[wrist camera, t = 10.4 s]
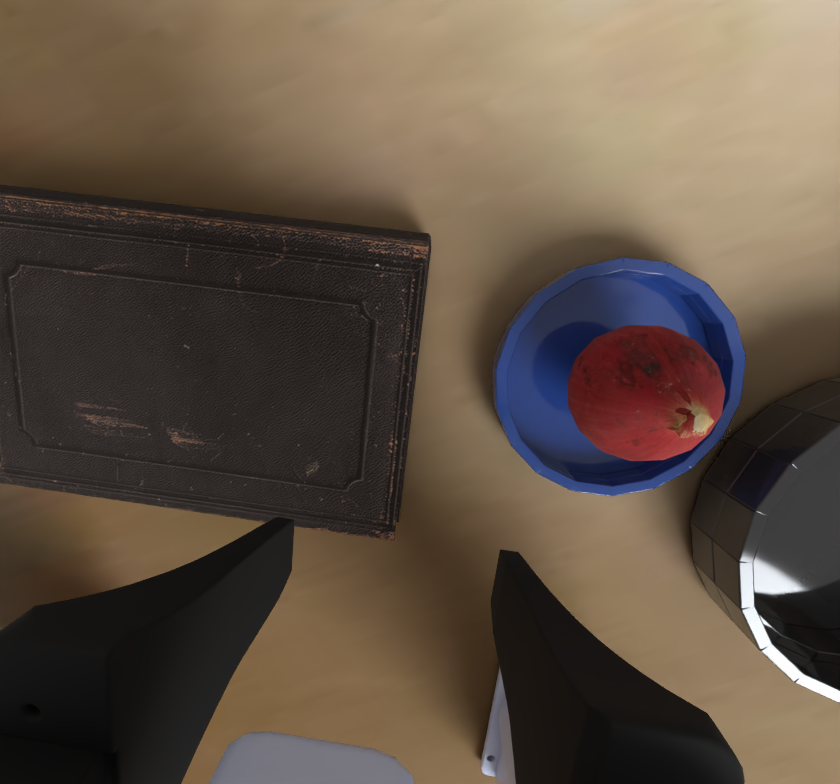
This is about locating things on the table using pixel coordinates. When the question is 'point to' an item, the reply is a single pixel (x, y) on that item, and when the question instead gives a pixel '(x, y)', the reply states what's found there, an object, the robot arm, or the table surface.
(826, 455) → the frying pan
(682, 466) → the saucer
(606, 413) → the onion
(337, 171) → the table surface
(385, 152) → the table surface
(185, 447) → the hardcover book
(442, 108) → the table surface
